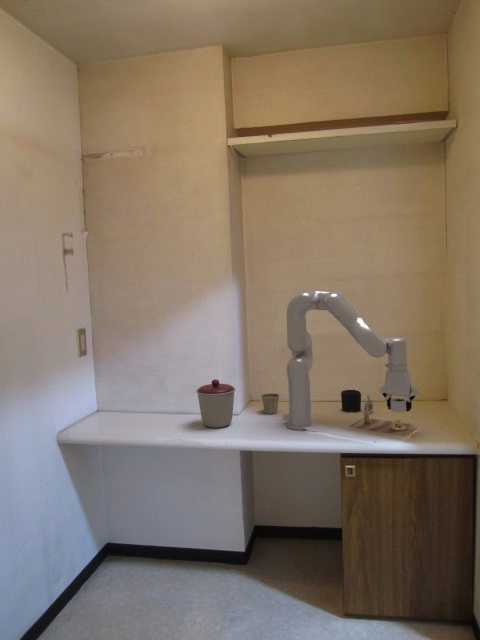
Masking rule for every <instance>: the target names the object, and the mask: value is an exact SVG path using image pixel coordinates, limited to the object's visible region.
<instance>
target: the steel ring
mask: <svg viewBox="0 0 480 640" xmlns="http://www.w3.org/2000/svg"><path fill="white" fill-rule="evenodd" d="M406 402H407V399H406V398H403V397H396V398H392V399H391V400H390V409H389V410H390V411H392V412H396V413H403V412H404V413H405V412H406V413H407V411H406Z"/></svg>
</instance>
